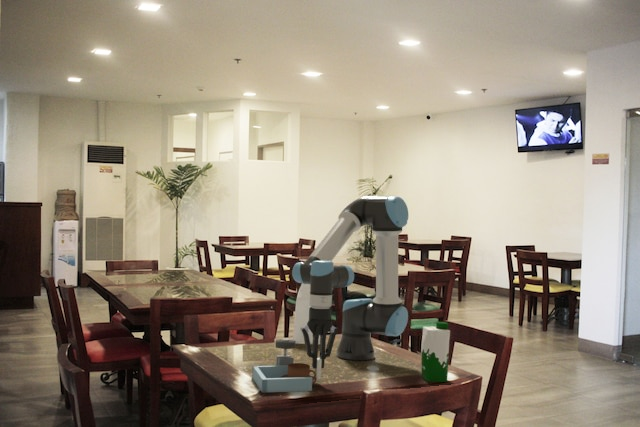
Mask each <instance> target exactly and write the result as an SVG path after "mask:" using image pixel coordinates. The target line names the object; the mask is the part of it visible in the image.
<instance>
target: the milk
mask: <svg viewBox="0 0 640 427" xmlns="http://www.w3.org/2000/svg"><path fill="white" fill-rule="evenodd" d="M309 302H310V284H303V283H301V284H300V286H299V289H298V292H297V296H296V300H295V308H294V309H295V310H294V320H293V321H294V322H293V323H294V324H293V333H292V340H295V341H296V344H299V345H300V344H303V345H305V341H304V336H303V333H302V332H301V330H300V329H301V328H304V327H305V326H307V323H308V321H309V308H310V307H311V306H310V305H309ZM308 330H309V332H308V335H309V340H310V345H313V334H312V332H311V331H310V329H308ZM318 345H320V335H319V339H318Z"/></svg>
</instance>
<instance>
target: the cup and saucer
mask: <svg viewBox="0 0 640 427" xmlns="http://www.w3.org/2000/svg"><path fill="white" fill-rule="evenodd" d="M311 373H313V376H312V375H310V374H311ZM294 377H312V385H314V384H315V383H316V382H317V380H318V379H316V378H315V377H316V373H315V370H312V369H311V366H310V364H307V363H301V362H300V363H299V362H293V363H292V364H289V365H288V375H284V376H281V377H280V378H294Z"/></svg>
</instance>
